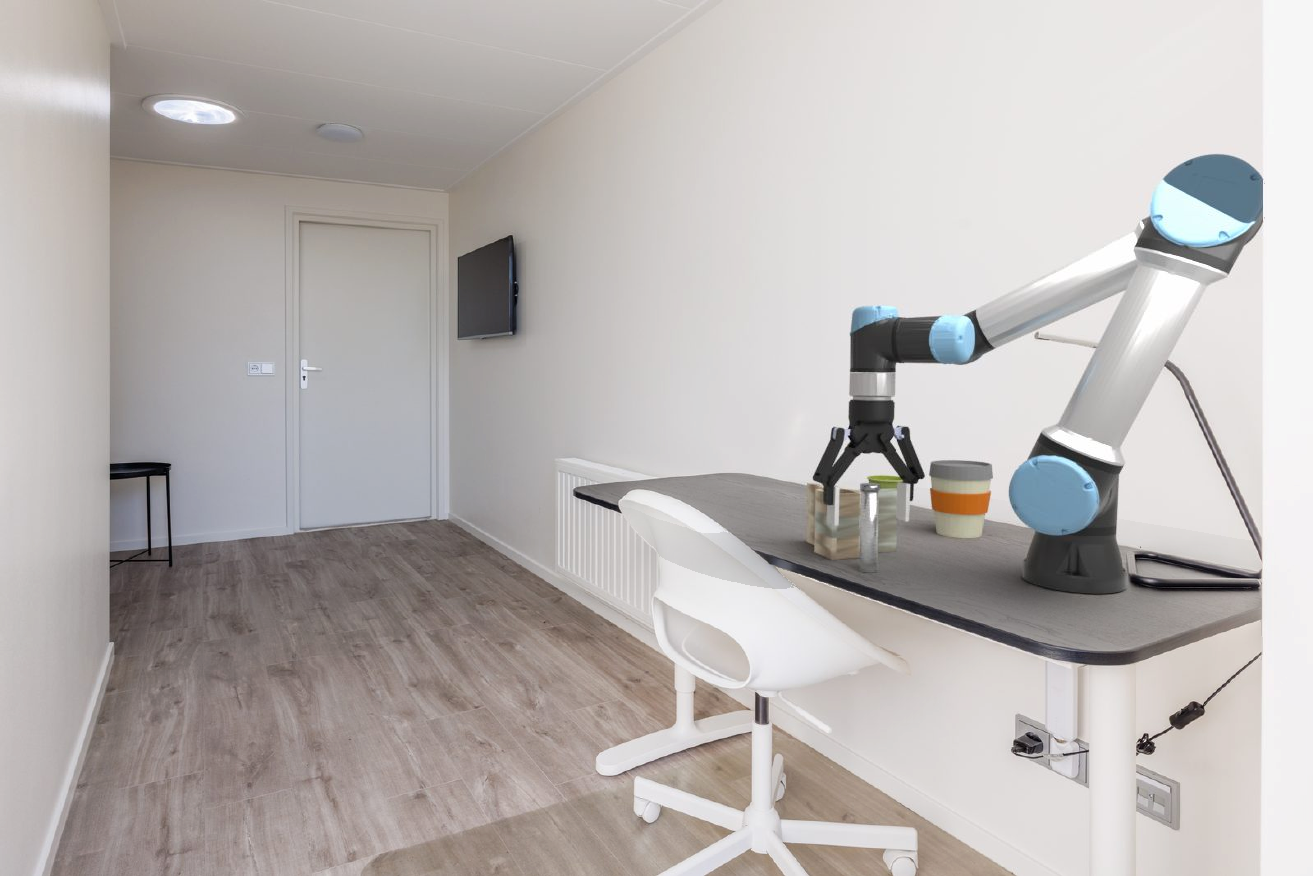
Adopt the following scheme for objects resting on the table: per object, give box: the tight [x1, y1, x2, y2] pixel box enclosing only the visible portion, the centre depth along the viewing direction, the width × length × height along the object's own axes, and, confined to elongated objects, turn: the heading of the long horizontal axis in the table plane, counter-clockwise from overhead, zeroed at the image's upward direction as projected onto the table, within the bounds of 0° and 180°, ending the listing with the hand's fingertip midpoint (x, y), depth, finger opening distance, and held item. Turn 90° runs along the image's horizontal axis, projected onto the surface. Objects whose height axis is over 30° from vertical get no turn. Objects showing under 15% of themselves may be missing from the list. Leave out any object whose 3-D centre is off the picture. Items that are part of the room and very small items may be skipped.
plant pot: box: [866, 474, 903, 489], centre depth 191 cm, size 9×9×9 cm
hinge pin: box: [858, 482, 880, 574], centre depth 135 cm, size 3×3×15 cm
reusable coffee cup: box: [928, 459, 994, 539], centre depth 166 cm, size 12×13×15 cm
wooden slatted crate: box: [805, 482, 898, 561], centre depth 152 cm, size 15×15×12 cm
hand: (868, 522), depth 135 cm, fingers open, 13 cm apart
